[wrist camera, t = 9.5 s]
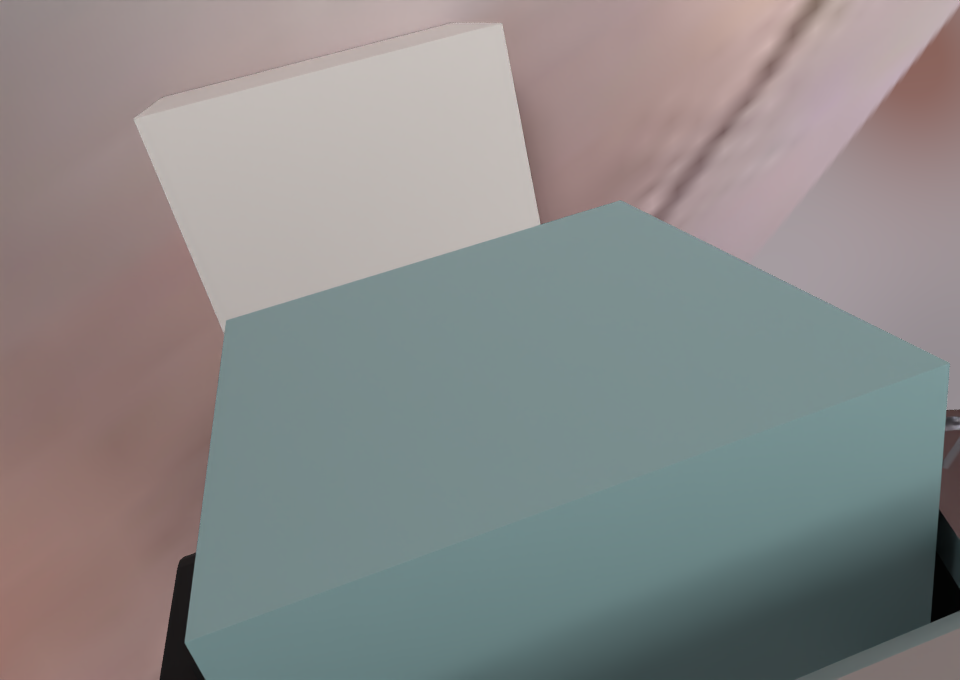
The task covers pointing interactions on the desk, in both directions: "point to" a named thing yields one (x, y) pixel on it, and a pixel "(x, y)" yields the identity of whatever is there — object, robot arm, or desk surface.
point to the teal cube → (565, 471)
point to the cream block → (344, 165)
